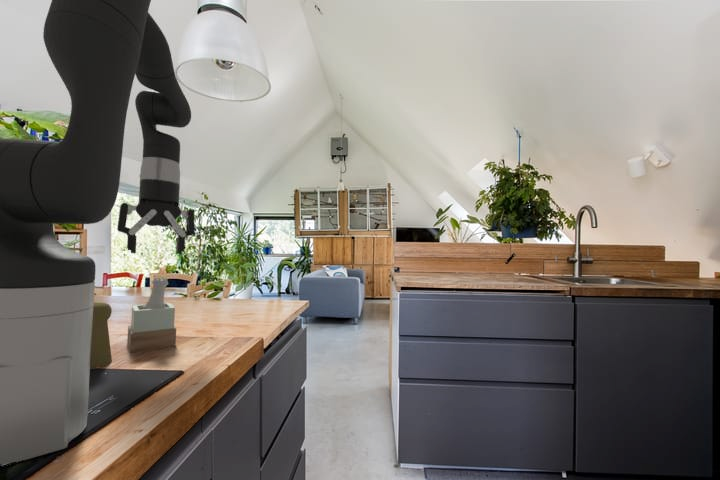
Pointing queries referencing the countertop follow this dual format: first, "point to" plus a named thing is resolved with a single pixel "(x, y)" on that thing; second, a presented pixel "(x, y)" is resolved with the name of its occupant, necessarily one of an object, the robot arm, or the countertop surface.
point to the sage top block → (152, 318)
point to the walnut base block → (151, 339)
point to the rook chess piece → (157, 294)
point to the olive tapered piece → (100, 336)
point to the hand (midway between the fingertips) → (156, 253)
